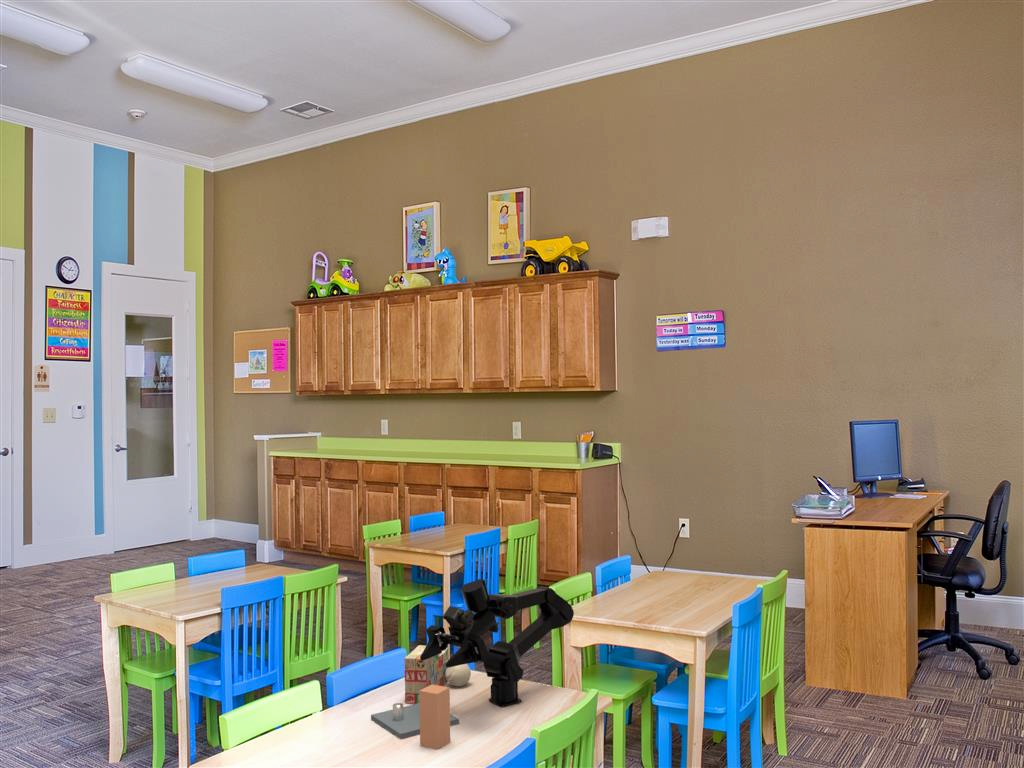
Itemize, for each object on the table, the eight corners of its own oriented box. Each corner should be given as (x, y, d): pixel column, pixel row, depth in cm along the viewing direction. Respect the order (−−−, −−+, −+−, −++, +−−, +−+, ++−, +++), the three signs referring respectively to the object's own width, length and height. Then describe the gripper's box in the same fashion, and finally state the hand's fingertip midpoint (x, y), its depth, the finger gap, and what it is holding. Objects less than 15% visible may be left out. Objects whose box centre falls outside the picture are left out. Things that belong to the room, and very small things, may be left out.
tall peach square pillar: (432, 738, 195) (431, 684, 196) (450, 742, 193) (449, 687, 193) (420, 745, 191) (419, 690, 191) (438, 749, 188) (437, 693, 189)
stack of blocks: (428, 679, 240) (428, 636, 241) (449, 680, 239) (449, 637, 239) (404, 704, 219) (404, 657, 220) (427, 705, 218) (426, 658, 219)
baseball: (440, 685, 234) (440, 661, 234) (461, 680, 238) (461, 656, 239) (453, 691, 228) (453, 667, 229) (475, 686, 233) (475, 661, 233)
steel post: (400, 721, 207) (400, 702, 207) (405, 724, 204) (405, 705, 205) (391, 723, 205) (390, 704, 205) (396, 726, 203) (395, 707, 203)
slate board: (426, 705, 217) (426, 701, 217) (458, 723, 204) (458, 718, 204) (371, 719, 208) (371, 714, 208) (400, 739, 195) (400, 733, 195)
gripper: (441, 594, 217) (398, 627, 206) (493, 604, 205) (450, 640, 194) (453, 631, 220) (412, 666, 209) (505, 643, 207) (463, 680, 196)
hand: (433, 662), depth 202 cm, fingers open, 9 cm apart
